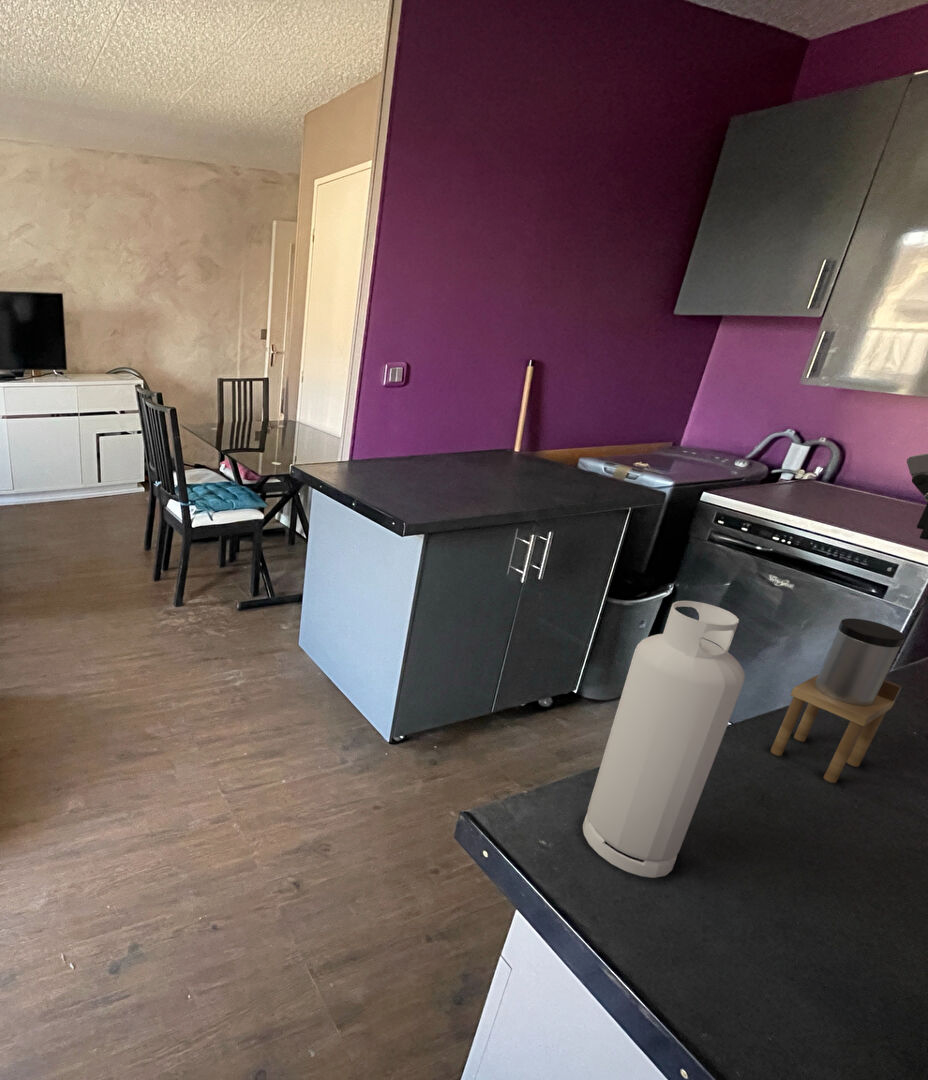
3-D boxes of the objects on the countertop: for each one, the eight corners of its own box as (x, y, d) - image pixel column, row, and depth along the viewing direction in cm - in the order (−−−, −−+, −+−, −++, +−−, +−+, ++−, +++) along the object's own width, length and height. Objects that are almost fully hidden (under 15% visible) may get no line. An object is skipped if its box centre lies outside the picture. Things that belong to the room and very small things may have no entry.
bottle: (636, 813, 66) (711, 592, 56) (693, 877, 58) (791, 634, 48) (566, 815, 66) (628, 593, 56) (614, 879, 58) (696, 635, 48)
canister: (824, 677, 74) (852, 614, 71) (881, 699, 69) (913, 633, 66) (805, 687, 72) (833, 623, 68) (862, 711, 67) (894, 643, 64)
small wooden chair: (794, 734, 78) (828, 658, 74) (862, 766, 73) (902, 686, 69) (766, 752, 75) (799, 673, 71) (834, 786, 70) (874, 703, 66)
